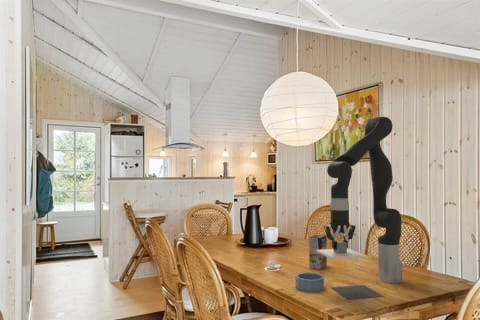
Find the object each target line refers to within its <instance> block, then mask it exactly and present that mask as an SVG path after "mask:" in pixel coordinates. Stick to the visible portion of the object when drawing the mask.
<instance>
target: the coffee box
mask: <svg viewBox="0 0 480 320" xmlns="http://www.w3.org/2000/svg"><path fill="white" fill-rule="evenodd" d="M327 239H328V238H327V235H321V234H316V235H312V236H309V237H308V253H309V254H308V255H309V256H308V257H309V258H308V259H309V260H308V265H309V266H308V268H311V269H318V270H321V269H323V268H325V267H327V266H328V257H326V256H324V255H322V254H320V253H318V252H316V250H322V249H328V248H327V247H328V245H327V241H328V240H327Z"/></svg>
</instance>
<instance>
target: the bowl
mask: <svg viewBox="0 0 480 320" xmlns="http://www.w3.org/2000/svg"><path fill="white" fill-rule="evenodd" d="M325 286H326V285H325V276H324V275H323V274H321V273H316V272H300V273H297V274H296V275H295V287H296V289H298V290H300V291H304V292H320V291H323V290H324V289H325Z"/></svg>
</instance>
